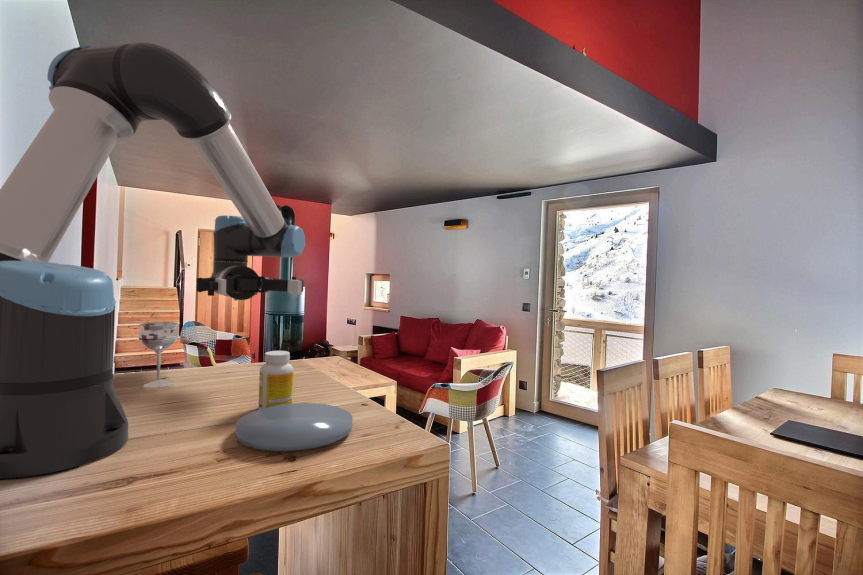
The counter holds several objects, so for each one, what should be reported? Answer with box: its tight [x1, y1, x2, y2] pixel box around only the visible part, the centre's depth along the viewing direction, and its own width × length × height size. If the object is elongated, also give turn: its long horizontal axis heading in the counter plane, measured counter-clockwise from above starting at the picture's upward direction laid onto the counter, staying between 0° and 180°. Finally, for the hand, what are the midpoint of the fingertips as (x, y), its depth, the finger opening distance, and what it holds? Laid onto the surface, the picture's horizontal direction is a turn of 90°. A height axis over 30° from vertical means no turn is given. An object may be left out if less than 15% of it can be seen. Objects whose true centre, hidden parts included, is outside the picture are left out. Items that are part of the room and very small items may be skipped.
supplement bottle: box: [258, 350, 294, 410], centre depth 73 cm, size 5×5×10 cm
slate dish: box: [235, 402, 353, 452], centre depth 62 cm, size 16×16×2 cm
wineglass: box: [138, 321, 180, 389], centre depth 85 cm, size 7×7×12 cm
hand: (263, 287), depth 80 cm, fingers open, 13 cm apart
